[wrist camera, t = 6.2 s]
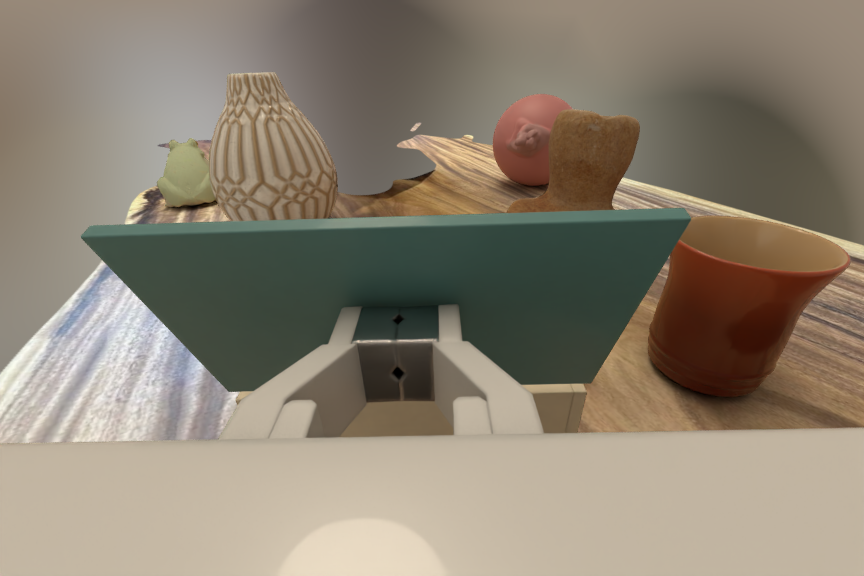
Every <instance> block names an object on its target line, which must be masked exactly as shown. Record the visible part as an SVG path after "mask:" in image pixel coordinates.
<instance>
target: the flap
mask: <svg viewBox="0 0 864 576" xmlns="http://www.w3.org/2000/svg"><path fill="white" fill-rule="evenodd" d="M690 221H691V217H690V216H689V214H688V213H687V211H686V210H685V209H684V208H662V209H629V210H595V211H562V212H528V213H495V214H461V215H428V216H395V217H361V218H328V219H294V220H261V221H227V222H194V223H160V224H127V225H94V226H90V227H88V229H87V230H86V231H85V232H84V233H83V234H82V236H81V238H82V239H83V240H84V241H85V243H87V245H89V247H90V248H91V249H92V250H93V251H94V252H95V253H96V254H97V255H98V256H99V257H100V258H101V259H102V260H103V261H104V262H105V263H106V264H107V265H108V266H109V268H110V269H111V270H112V271H113V272H114V273H115V274H116V275H117V276H118V277H119V278H120V279H121V280H122V281H123V282H124V283H125V284H126V285H127V286H128V287H129V288H130V289H131V290H132V291H133V293H134V294H135V295H136V296H137V297H138V298H139V299H140V300H141V301H142V302H143V303H144V304H145V305H146V306H147V307H148V308H149V309H150V310H151V311H152V312H153V313H154V314H155V315H156V316H157V318H158V319H159V320H160V321H161V322H162V323H163V324H164V325H165V326H166V327H167V328H168V329H169V330H170V331H171V332H172V333H173V334H174V335H175V336H176V337H177V338H178V339H179V340H180V341H181V343H182V344H183V345H184V346H185V347H186V348H187V349H188V350H189V351H190V352H191V353H192V354H193V355H194V356H195V357H196V358H197V359H198V360H199V361H200V362H201V363H202V364H203V365H204V366H205V368H206V369H207V370H208V371H209V372H210V373H211V374H212V375H213V376H214V377H215V378H216V379H217V380H218V381H219V382H220V383H221V384H222V385H223V386H224V387H225V388H226V389H227V390H228V391H229V392H241V391H255V390H256V389H258V388H259V387H260V386H262V385H263V384H265V383H266V382H268V381H269V380H271V379H272V378H274V377H275V376H277V375H278V374H280V373H281V372H283V371H284V370H286V369H287V368H288V367H290V366H291V365H293V364H294V363H296V362H297V361H299V360H300V359H302V358H303V357H305V356H306V355H308V354H309V353H311V352H312V351H314V350H315V349H316V348H318V347H319V346H321V345H326V344H328V343H329V340H330V337H331V335H332V332H333V330H334V327H335V325H336V322H337V319H338V317H339V314H340V312H341V309H342V308H344V307H359V306H362V307H376V306H401V307H409V306H430V305H438V309H439V305H446V304H458V305H459V314H460V323H461V332H462V341H468V342H470V343H471V344H472V345H473V346H474V347H476V348H477V349H478V350H479V351H480V352H482V353H483V354H484V355H485V356H487V357H488V358H489V359H490V360H491V361H493V362H494V363H495V364H496V365H498V366H499V367H500V368H501V369H502V370H504V371H505V372H506V373H507V374H508V375H510V376H511V377H512V378H513V379H515V380H516V381H517V382H518V383H519V384H521V385H542V384H585V383H592V381H593V379H594V378H595V376H596V374H597V373H598V371H599V369H600V368H601V366H602V365H603V363H604V361H605V360H606V358H607V356H608V355H609V353H610V352H611V350H612V348H613V347H614V345H615V343H616V342H617V340H618V339H619V337H620V335H621V334H622V332H623V330H624V329H625V327H626V325H627V324H628V322H629V321H630V319H631V317H632V316H633V314H634V312H635V311H636V309H637V308H638V306H639V304H640V303H641V301H642V299H643V298H644V296H645V295H646V293H647V291H648V290H649V288H650V286H651V285H652V283H653V281H654V280H655V278H656V277H657V275H658V273H659V272H660V270H661V268H662V267H663V265H664V264H665V262H666V260H667V259H668V257H669V255H670V254H671V252H672V251H673V249H674V247H675V246H676V244H677V242H678V241H679V239H680V237H681V236H682V234H683V233H684V231H685V229H686V228H687V226H688V224H689V223H690ZM438 316H439V312H438Z"/></svg>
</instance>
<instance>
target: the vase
mask: <svg viewBox="0 0 864 576" xmlns="http://www.w3.org/2000/svg"><path fill="white" fill-rule="evenodd" d="M209 179H210V185H211V189H212V192H213V194H214V197H215V199H216V201H217V203H218V205H219V206H220V208H221V210H222V211H223V213H224V214H225V215H226V217H227V218H228V219H229V220H230V221H261V220H294V219H328V218H329V217H330V215H331V213H332V211H333V209H334V206H335V202H336V198H337V187H338V185H337V173H336V169H335V165H334V163H333V160H332V157H331V155H330V153H329V151H328V149H327V147H326V145H325V143H324V141H323V139H322V138H321V136H320V135H319V133H318V132H317V131H316V129H315V128H314V127H313V125H312V124H311V123H310V121H309V120H308V119H307V118H306V117H305V116H304V115H303V113H302V112H301V111H300V110H299V109H298V108H297V107H296V106H295V105H294V104H293V103H292V101H291V100H290V99H289V97H288V96H287V94H286V92H285V90H284V88H283V86H282V84H281V82H280V80H279V78H278V76H277V74H276V73H274V72H269V73H240V74H229V75H228V76H227V94H226V102H225V106H224V109H223V111H222V113H221V115H220V118H219V120H218V122H217V125H216V128H215V131H214V134H213V137H212V141H211V145H210V151H209Z"/></svg>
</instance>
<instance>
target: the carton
mask: <svg viewBox="0 0 864 576" xmlns="http://www.w3.org/2000/svg"><path fill="white" fill-rule="evenodd" d="M522 386H523V387H524V388H525V389H527V390H528V391H529V392H530V393H532V395H533V398H534V401H535V404H536V408H537V411H538V414H539V418H540V421H541V424H542V428H543V431H544V433H577V432H578V427H579V423H580V419H581V415H582V411H583V406H584V402H585V398H586V394H587V391H586V389H585V387H584V385H583V384H542V385H522ZM252 392H253V391H241V392H240V393H239V395H238V397H237V398H236V403H237V405H238V404H239V402H240V401H241V399H243V398H244V397H246V396H247V395H249V394H250V393H252ZM430 435H453V428H452V426H451V425H450V423H449V422H448V421H447V419H446V418H445V416H444V415H443V414H442V412H441V411H440V409H439V408H438V406H437V405H436V404H435V401H393V402H372V403H367V405H366V406H365V407H364V409H363V410H362V411H361V412H360V413H359V414H358V415H357V417H356V418H355V419H354V420H353V421H352V422H351V424H350V425H349V426H348V427H347V428H346V429H345V431H344V432H343V433H342V434H341V435H340V436H339V437H380V436H430Z"/></svg>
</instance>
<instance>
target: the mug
mask: <svg viewBox="0 0 864 576" xmlns="http://www.w3.org/2000/svg"><path fill="white" fill-rule="evenodd" d="M850 262H851V259H850V256H849V255H848V253H847V252H846V251H845V250H844V249H842V248H841V247H840V246H838V245H836V244H835V243H833V242H831V241H829V240H827V239H825V238H823V237H820V236H818V235H815V234H812V233H810V232H807V231H804V230H800V229H797V228H793V227H790V226H786V225H782V224H778V223H773V222H769V221H763V220H757V219H750V218H742V217H731V216H698V217H691V221H690V223H689V224H688V226H687V228H686V229H685V231H684V233H683V234H682V236H681V237H680V239H679V241H678V242H677V244H676V246H675V247H674V249H673V251H672V252H671V254H670V265H669V273H668V277H667V281H666V284H665V286H664V289H663V292H662V294H661V297H660V299H659V302H658V305H657V308H656V311H655V314H654V318H653V321H652V322H651V324H650V328H649V337H648V353H649V356H650V359H651V360H652V362H653V363H654V365H655V366H656V367H657V368H658V369H659V370H660V371H661V372H662V373H663V374H664V375H666V376H667V377H668V378H670V379H671V380H672V381H674V382H676V383H677V384H679V385H681V386H683V387H685V388H688V389H690V390H693V391H695V392H698V393H702V394H706V395H711V396H719V397H738V396H743V395H747V394H749V393H751V392H753V391H754V390H756V389H757V388H758V386H759V385H760V384H761V383H762V382H763V381H764V380H765V378H766V377H767V376H768V375H769V374H771V373H772V372H773V371H774V369H775V367H776V364H777V361H778V359H779V357H780V355H781V354H782V352H783V350H784V348H785V346H786V344H787V342H788V340H789V338H790V336H791V334H792V332H793V329H794V327H795V325H796V323H797V321H798V319H799V317H800V315H801V313H802V312H803V310H804V309H805V308H806V306H807V305H808V304H809V303H810V302H811V300H812V299H813V298H814V297H815V296H816V295H817V294H818V293H819V292H820V291H821V290H823V289H824V288H825V287H826V286H827V285H828V284H829V283H831V282H832V281H833V280H834V279H835V278H836V277H838V276H839V275H840V274H841V273H842V272H844V271H845V270H846V269H847V268H848V267H849V265H850Z"/></svg>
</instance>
